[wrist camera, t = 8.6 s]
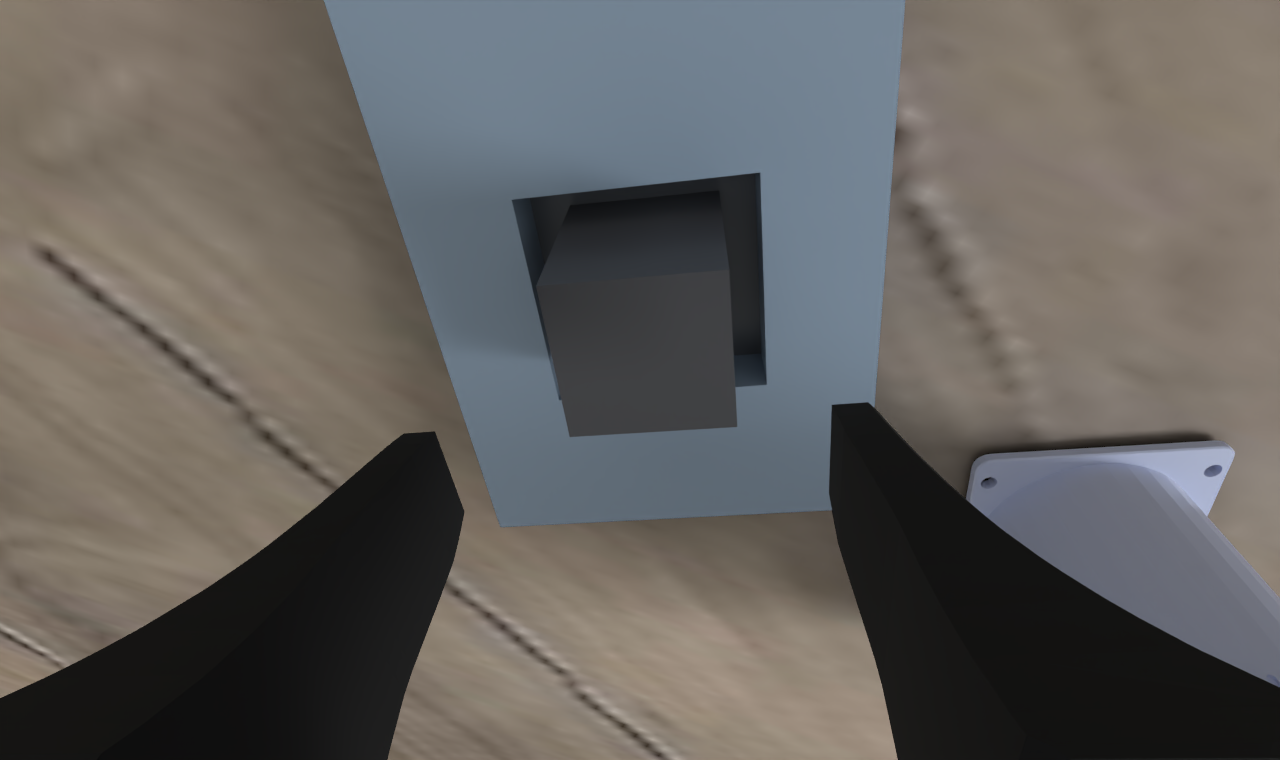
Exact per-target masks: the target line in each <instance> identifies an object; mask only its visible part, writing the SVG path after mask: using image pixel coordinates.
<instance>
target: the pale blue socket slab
mask: <svg viewBox="0 0 1280 760" xmlns="http://www.w3.org/2000/svg"><path fill="white" fill-rule="evenodd" d="M324 3H325V6H326V9H327V11H328V14H329V17H330V20H331V23H332V26H333V29H334V32H335V35H336V38H337V41H338V44H339V47H340V50H341V53H342V56H343V59H344V62H345V65H346V68H347V71H348V74H349V77H350V80H351V83H352V86H353V89H354V92H355V95H356V98H357V101H358V104H359V107H360V110H361V113H362V116H363V119H364V122H365V125H366V128H367V131H368V134H369V137H370V140H371V143H372V146H373V149H374V152H375V155H376V158H377V161H378V164H379V167H380V170H381V173H382V175H383V178H384V181H385V184H386V187H387V190H388V193H389V196H390V199H391V202H392V205H393V208H394V211H395V214H396V217H397V220H398V223H399V226H400V229H401V232H402V235H403V238H404V241H405V244H406V247H407V250H408V253H409V256H410V259H411V262H412V265H413V268H414V271H415V274H416V277H417V280H418V283H419V286H420V289H421V292H422V295H423V298H424V301H425V304H426V307H427V310H428V313H429V316H430V319H431V322H432V325H433V328H434V331H435V334H436V337H437V340H438V342H439V345H440V348H441V351H442V354H443V357H444V360H445V363H446V366H447V369H448V372H449V375H450V378H451V381H452V384H453V387H454V390H455V393H456V396H457V399H458V402H459V405H460V408H461V411H462V414H463V417H464V420H465V423H466V426H467V429H468V432H469V435H470V438H471V441H472V444H473V447H474V450H475V453H476V456H477V459H478V462H479V465H480V468H481V471H482V474H483V477H484V480H485V483H486V486H487V489H488V492H489V495H490V498H491V501H492V504H493V506H494V509H495V512H496V515H497V518H498V521H499V524H500V527H515V526H534V525H554V524H573V523H593V522H612V521H632V520H651V519H671V518H690V517H710V516H729V515H749V514H768V513H788V512H807V511H827V510H832V507H831V502H830V496H829V473H830V443H831V412H832V405H835V404H849V403H864V402H868V403H870V404H871V405H872V406H873V407H874V406H875V393H876V380H877V367H878V353H879V340H880V327H881V314H882V300H883V287H884V274H885V261H886V248H887V234H888V221H889V208H890V195H891V181H892V168H893V155H894V142H895V129H896V115H897V102H898V89H899V76H900V62H901V49H902V36H903V23H904V9H905V0H324ZM718 190H719V194H720V201H721V209H722V217H723V225H724V233H725V240H726V248H727V256H728V264H729V275H730V294H731V313H732V333H733V352H734V371H735V390H736V409H737V427H729V428H713V429H696V430H679V431H663V432H646V433H630V434H613V435H597V436H580V437H570V436H569V432H568V427H567V423H566V418H565V414H564V409H563V405H562V400H561V396H560V392H559V387H558V383H557V378H556V374H555V369H554V365H553V360H552V356H551V351H550V347H549V342H548V338H547V334H546V329H545V325H544V320H543V316H542V311H541V307H540V302H539V298H538V293H537V289H536V285H537V283H538V280H539V278H540V275H541V273H542V271H543V268H544V266H545V264H546V261H547V259H548V256H549V254H550V252H551V249H552V247H553V245H554V242H555V240H556V238H557V235H558V233H559V230H560V228H561V226H562V223H563V221H564V219H565V216H566V214H567V211H568V209H569V207H570V205H578V204H588V203H598V202H608V201H618V200H628V199H638V198H648V197H658V196H668V195H678V194H688V193H698V192H708V191H718Z"/></svg>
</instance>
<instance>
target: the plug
mask: <svg viewBox="0 0 1280 760" xmlns="http://www.w3.org/2000/svg"><path fill="white" fill-rule="evenodd" d="M536 289H537V293H538V298H539V302H540V307H541V311H542V316H543V320H544V325H545V329H546V334H547V338H548V342H549V347H550V351H551V356H552V360H553V365H554V369H555V374H556V378H557V383H558V387H559V392H560V396H561V400H562V405H563V409H564V414H565V418H566V423H567V427H568V432H569V436H570V437H580V436H597V435H613V434H630V433H646V432H663V431H679V430H696V429H713V428H729V427H737V409H736V390H735V371H734V352H733V333H732V313H731V294H730V275H729V264H728V256H727V248H726V240H725V233H724V225H723V217H722V209H721V201H720V194H719V190H718V191H708V192H698V193H688V194H678V195H668V196H658V197H648V198H638V199H628V200H618V201H608V202H598V203H588V204H578V205H570V207H569V209H568V211H567V214H566V216H565V219H564V221H563V223H562V226H561V228H560V230H559V233H558V235H557V238H556V240H555V242H554V245H553V247H552V249H551V252H550V254H549V256H548V259H547V261H546V264H545V266H544V268H543V271H542V273H541V275H540V278H539V280H538V283H537V285H536Z"/></svg>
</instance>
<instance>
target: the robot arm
mask: <svg viewBox="0 0 1280 760" xmlns="http://www.w3.org/2000/svg"><path fill="white" fill-rule="evenodd" d="M1234 455H1235V452H1234V450H1233V449H1232V448H1231V447H1230V446H1229V445H1228V444H1227V443H1225V442H1223V441H1217V440H1215V441H1199V442H1182V443H1165V444H1148V445H1131V446H1114V447H1097V448H1080V449H1063V450H1047V451H1030V452H1013V453H996V454H986V455H983V456H981V457H979V458H977V459H976V460H975V461H974V463H973V465H972V469H971V474H970V480H969V485H968V490H967V496H966V499H965V498H964V497H963V496H962V495H960V494H959V493H958V492H957V491H956V490H955V489H954V488H953V487H952V486H950V485H949V484H948V483H947V482H946V481H945V480H944V479H943V478H942V477H941V476H940V475H939V474H938V473H937V472H936V471H935V470H934V469H933V468H931V467H930V466H929V465H928V464H927V463H926V462H925V461H924V460H923V459H922V458H921V457H920V456H919V455H918V454H917V453H916V452H915V451H914V450H913V449H912V448H911V447H910V446H909V445H908V444H907V443H906V441H905V440H904V439H903V438H902V437H901V436H900V435H899V434H898V433H897V432H896V431H895V430H894V429H893V428H892V427H891V426H890V424H889V423H888V422H887V421H886V420H885V419H884V418H883V417H882V416H881V415H880V413H879V412H878V411H877V410H876V409H875V408H874V407H873V406H872V405H871V404H870V403H868V402H864V403H849V404H835V405H832V412H831V443H830V473H829V496H830V502H831V507H832V513H833V518H834V524H835V529H836V534H837V539H838V544H839V547H840V551H841V554H842V557H843V560H844V564H845V567H846V570H847V573H848V576H849V579H850V583H851V586H852V589H853V592H854V595H855V598H856V601H857V605H858V608H859V611H860V614H861V617H862V620H863V623H864V626H865V630H866V633H867V636H868V639H869V642H870V645H871V648H872V651H873V655H874V658H875V661H876V665H877V668H878V672H879V676H880V679H881V683H882V687H883V692H884V696H885V701H886V706H887V710H888V715H889V720H890V724H891V729H892V734H893V738H894V743H895V748H896V753H897V758H898V760H1280V598H1279V597H1278V596H1277V594H1276V593H1275V592H1274V591H1273V590H1272V589H1271V588H1270V587H1269V585H1268V584H1267V583H1266V582H1265V581H1264V580H1263V579H1262V578H1261V576H1260V575H1259V574H1258V573H1257V572H1256V571H1255V570H1254V569H1253V568H1252V566H1251V565H1250V564H1249V563H1248V562H1247V561H1246V560H1245V559H1244V557H1243V556H1242V555H1241V554H1240V553H1239V552H1238V551H1237V550H1236V548H1235V547H1234V546H1233V545H1232V544H1231V543H1230V542H1229V541H1228V539H1227V538H1226V537H1225V536H1224V535H1223V534H1222V533H1221V532H1220V530H1219V529H1218V528H1217V527H1216V526H1215V525H1214V524H1213V523H1212V521H1211V520H1210V519H1209V518H1208V517H1207V516H1208V514H1209V511H1210V509H1211V507H1212V505H1213V503H1214V500H1215V498H1216V496H1217V494H1218V492H1219V489H1220V487H1221V485H1222V483H1223V481H1224V478H1225V476H1226V474H1227V472H1228V470H1229V467H1230V465H1231V463H1232V461H1233V459H1234ZM989 477H991V478H990V479H989V480H986V481H982V480H984V479H985V478H989ZM463 516H464V509H463V507H462V504H461V501H460V499H459V496H458V493H457V490H456V488H455V485H454V482H453V480H452V477H451V474H450V471H449V469H448V466H447V463H446V461H445V458H444V455H443V452H442V450H441V447H440V444H439V441H438V439H437V436H436V433H435V432H421V433H406V434H403V435H401V436H400V437H399V438H397V439H396V440H395V441H394V442H392V443H391V444H390V445H389V446H387V447H386V448H385V449H384V450H383V451H381V452H380V453H379V454H378V455H377V456H375V457H374V458H373V459H372V460H371V461H370V462H368V463H367V464H366V465H365V466H364V467H363V468H362V469H360V470H359V471H358V472H357V473H356V474H355V475H353V476H352V477H351V478H350V479H349V480H348V481H346V482H345V483H344V484H343V485H342V486H341V487H339V488H338V489H337V490H336V491H335V492H334V493H332V494H331V495H330V496H329V497H328V498H327V499H325V500H324V501H323V502H322V503H321V504H320V505H318V506H317V507H316V508H315V509H313V510H312V511H311V512H310V513H308V514H307V515H306V516H305V517H303V518H302V519H301V520H300V521H298V522H297V523H296V524H295V525H293V526H292V527H291V528H289V529H288V530H287V531H286V532H284V533H283V534H282V535H281V536H279V537H278V538H277V539H276V540H274V541H273V542H272V543H271V544H269V545H268V546H267V547H265V548H264V549H263V550H261V551H260V552H259V553H257V554H256V555H254V556H253V557H252V558H250V559H249V560H247V561H246V562H245V563H243V564H242V565H240V566H239V567H237V568H236V569H235V570H233V571H232V572H230V573H229V574H227V575H226V576H224V577H223V578H221V579H220V580H218V581H217V582H215V583H214V584H212V585H211V586H209V587H208V588H206V589H205V590H203V591H202V592H200V593H198V594H197V595H195V596H193V597H192V598H190V599H188V600H187V601H185V602H183V603H182V604H180V605H178V606H177V607H175V608H173V609H172V610H170V611H168V612H167V613H165V614H163V615H162V616H160V617H158V618H157V619H155V620H153V621H152V622H150V623H148V624H147V625H145V626H143V627H142V628H140V629H138V630H136V631H135V632H133V633H131V634H129V635H127V636H125V637H124V638H122V639H120V640H118V641H116V642H114V643H113V644H111V645H109V646H107V647H105V648H103V649H101V650H99V651H98V652H96V653H94V654H92V655H90V656H88V657H86V658H84V659H82V660H80V661H78V662H76V663H74V664H72V665H70V666H68V667H66V668H64V669H62V670H60V671H58V672H56V673H54V674H52V675H50V676H48V677H46V678H44V679H41V680H39V681H37V682H35V683H33V684H31V685H28V686H26V687H24V688H22V689H20V690H17V691H15V692H13V693H11V694H9V695H6V696H4V697H2V698H0V760H387V759H388V755H389V750H390V746H391V743H392V739H393V735H394V731H395V728H396V724H397V720H398V716H399V713H400V709H401V705H402V701H403V698H404V694H405V691H406V688H407V685H408V682H409V679H410V676H411V673H412V670H413V667H414V665H415V662H416V660H417V657H418V654H419V652H420V649H421V646H422V644H423V641H424V639H425V636H426V633H427V631H428V628H429V625H430V623H431V620H432V618H433V615H434V612H435V610H436V607H437V605H438V602H439V599H440V597H441V594H442V591H443V588H444V586H445V583H446V580H447V578H448V575H449V572H450V569H451V567H452V564H453V561H454V557H455V553H456V549H457V545H458V540H459V536H460V531H461V526H462V521H463Z"/></svg>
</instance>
